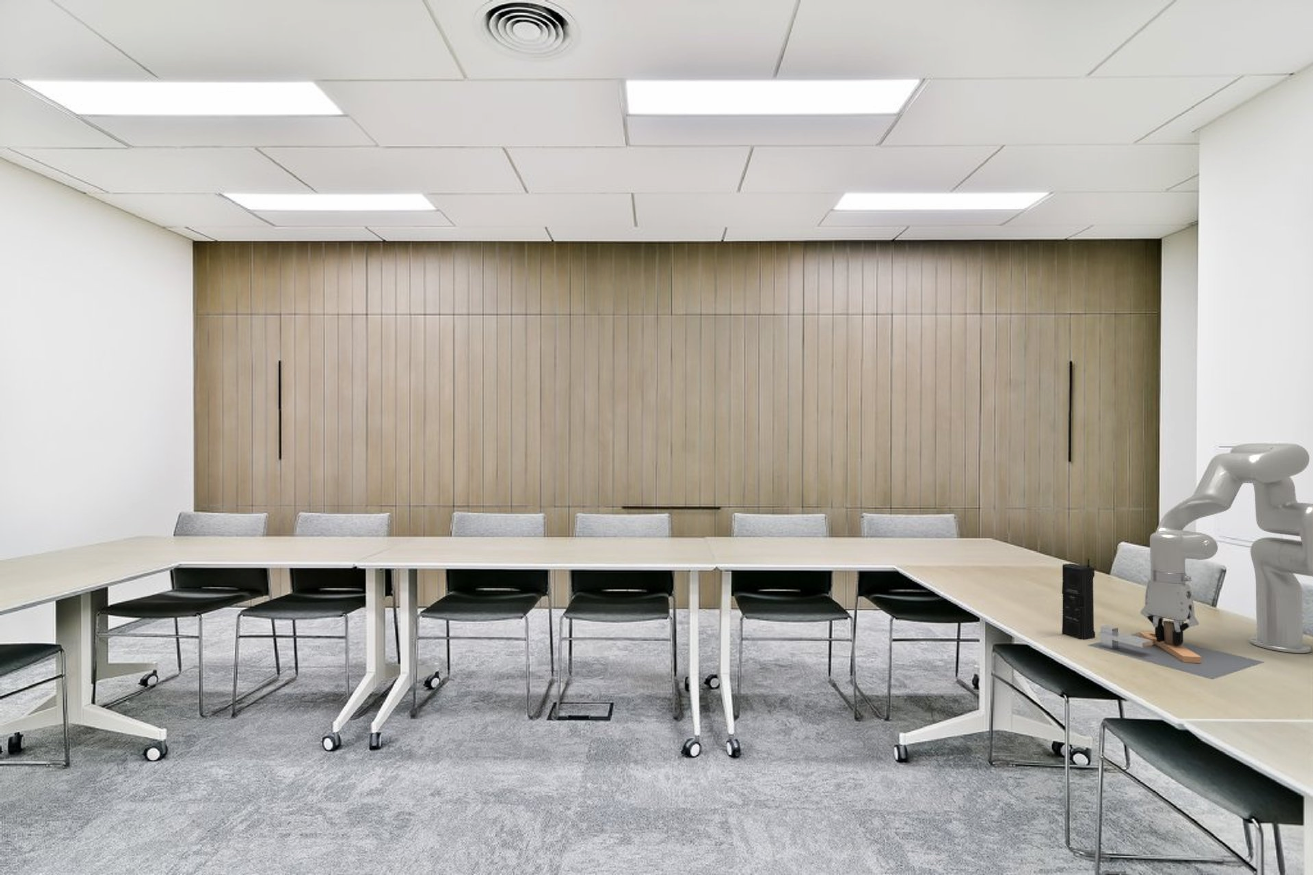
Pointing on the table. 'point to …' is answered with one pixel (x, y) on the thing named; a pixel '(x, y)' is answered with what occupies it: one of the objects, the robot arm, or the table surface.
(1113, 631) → the keeper
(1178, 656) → the link
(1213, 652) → the pintle board
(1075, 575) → the portable radio
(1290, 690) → the table surface
